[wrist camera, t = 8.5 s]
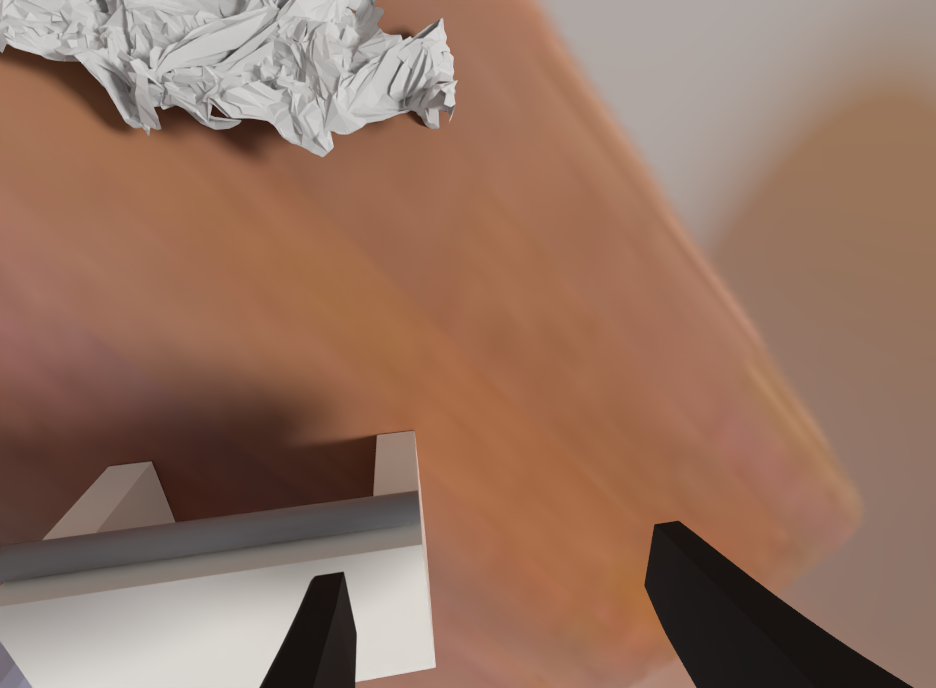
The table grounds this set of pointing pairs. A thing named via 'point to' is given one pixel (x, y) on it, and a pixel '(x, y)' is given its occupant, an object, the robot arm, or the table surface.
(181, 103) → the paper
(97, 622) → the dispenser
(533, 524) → the table surface
